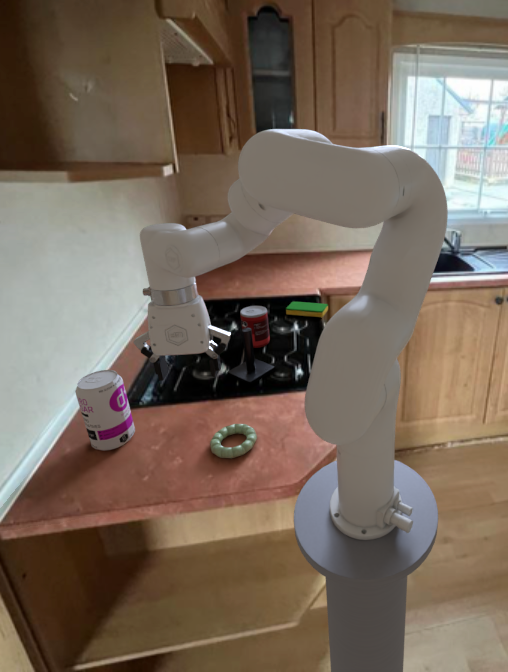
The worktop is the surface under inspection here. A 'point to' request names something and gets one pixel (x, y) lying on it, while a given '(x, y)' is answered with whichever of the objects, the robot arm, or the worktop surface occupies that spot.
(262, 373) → the stand
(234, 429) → the ring
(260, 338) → the canned food
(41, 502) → the worktop surface
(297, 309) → the dish sponge
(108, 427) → the supplement can
